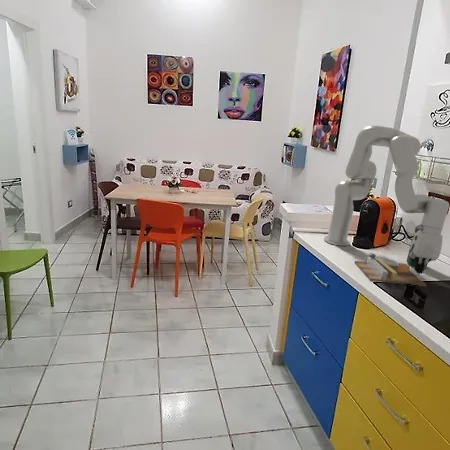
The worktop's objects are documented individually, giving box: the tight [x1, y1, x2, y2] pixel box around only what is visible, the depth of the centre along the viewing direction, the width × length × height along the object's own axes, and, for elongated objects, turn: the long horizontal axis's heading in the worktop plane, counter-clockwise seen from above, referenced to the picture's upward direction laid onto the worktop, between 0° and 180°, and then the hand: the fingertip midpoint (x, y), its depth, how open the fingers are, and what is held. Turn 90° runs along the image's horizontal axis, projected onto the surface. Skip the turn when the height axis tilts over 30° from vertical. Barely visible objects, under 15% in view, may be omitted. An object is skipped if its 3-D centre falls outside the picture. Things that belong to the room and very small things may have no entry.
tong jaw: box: [374, 257, 397, 281], centre depth 142 cm, size 15×2×4 cm, turn 3°
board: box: [354, 260, 427, 288], centre depth 144 cm, size 18×22×2 cm
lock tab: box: [397, 262, 410, 274], centre depth 145 cm, size 3×3×4 cm
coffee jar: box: [406, 224, 429, 270], centre depth 156 cm, size 10×8×19 cm
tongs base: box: [366, 252, 388, 281], centre depth 143 cm, size 18×3×4 cm, turn 179°
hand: (418, 272), depth 145 cm, fingers closed
